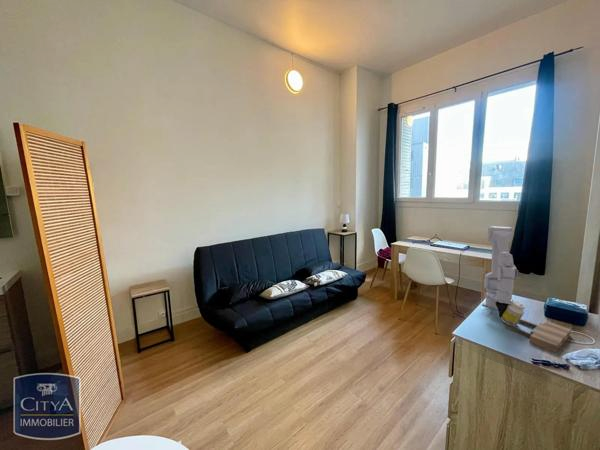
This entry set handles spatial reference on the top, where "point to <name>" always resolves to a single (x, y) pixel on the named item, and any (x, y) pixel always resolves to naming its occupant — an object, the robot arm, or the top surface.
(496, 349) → the top surface
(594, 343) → the top surface
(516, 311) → the pill bottle
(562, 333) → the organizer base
